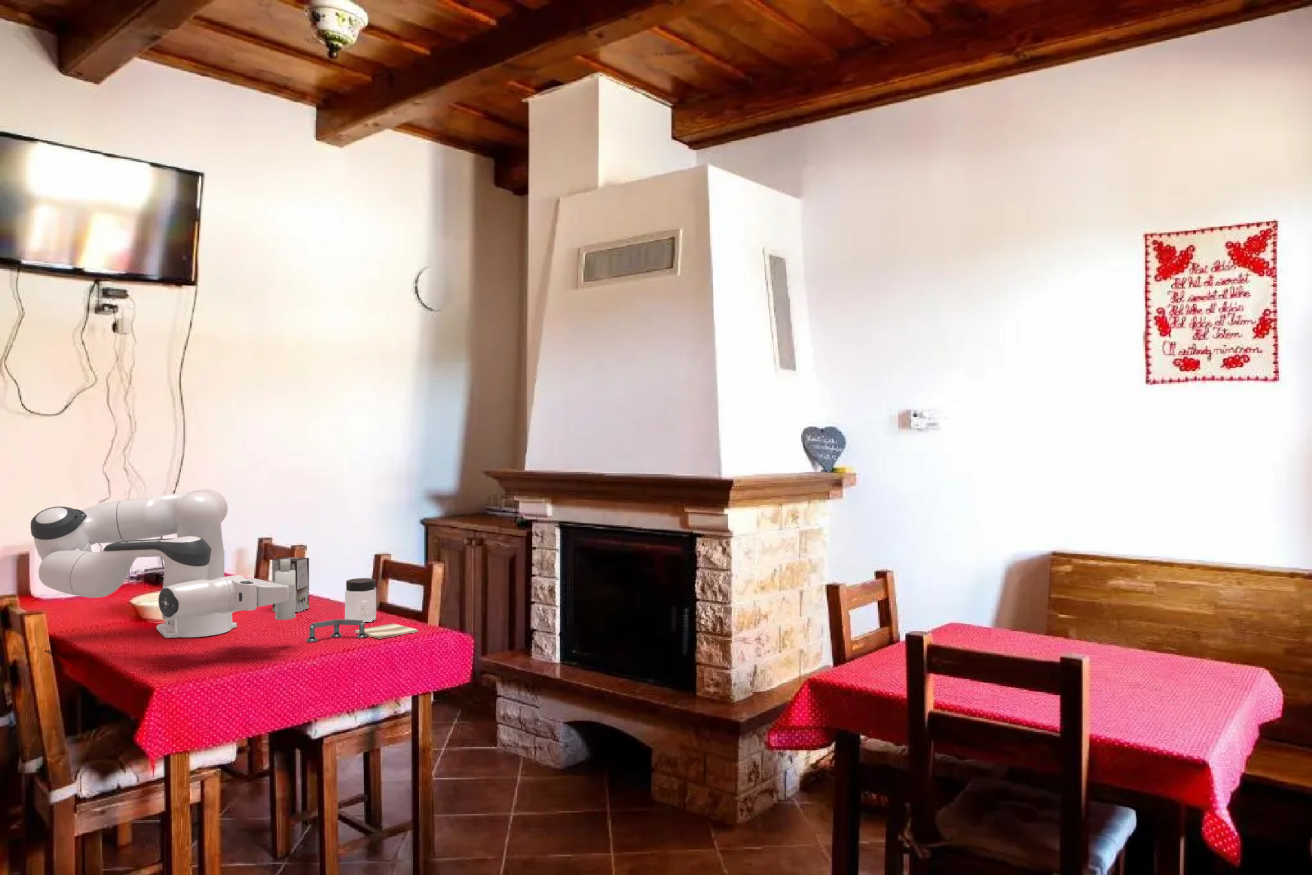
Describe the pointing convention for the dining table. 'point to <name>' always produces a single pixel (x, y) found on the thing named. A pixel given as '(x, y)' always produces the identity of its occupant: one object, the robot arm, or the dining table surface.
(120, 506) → the robot arm
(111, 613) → the dining table surface
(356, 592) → the jar
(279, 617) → the stoneware bottle
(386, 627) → the birch board
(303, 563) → the coffee box
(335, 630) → the grey angled rail stand
